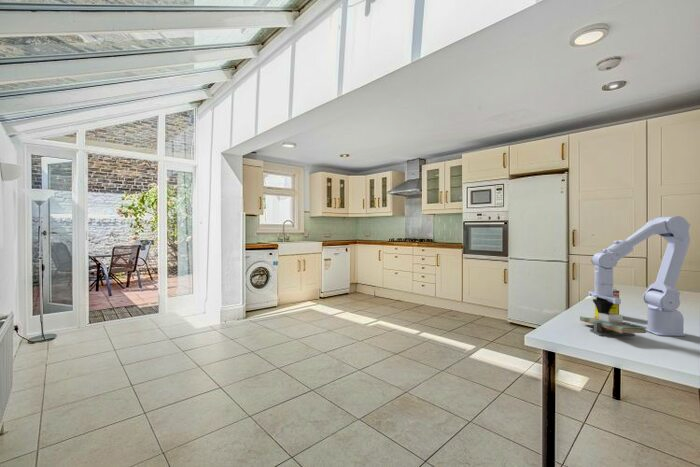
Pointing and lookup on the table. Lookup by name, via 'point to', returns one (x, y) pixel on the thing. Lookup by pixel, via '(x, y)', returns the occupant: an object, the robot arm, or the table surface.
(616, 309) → the supplement box
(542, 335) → the table surface
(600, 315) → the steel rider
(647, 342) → the table surface
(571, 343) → the table surface
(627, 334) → the beam stand
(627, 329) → the balance beam
